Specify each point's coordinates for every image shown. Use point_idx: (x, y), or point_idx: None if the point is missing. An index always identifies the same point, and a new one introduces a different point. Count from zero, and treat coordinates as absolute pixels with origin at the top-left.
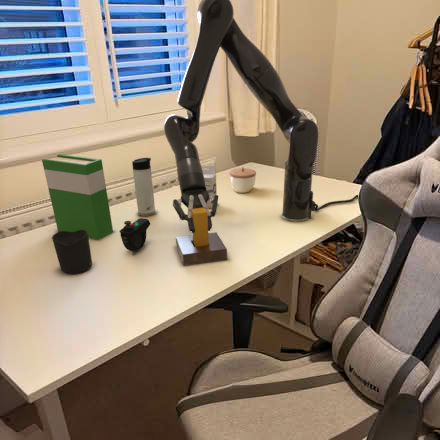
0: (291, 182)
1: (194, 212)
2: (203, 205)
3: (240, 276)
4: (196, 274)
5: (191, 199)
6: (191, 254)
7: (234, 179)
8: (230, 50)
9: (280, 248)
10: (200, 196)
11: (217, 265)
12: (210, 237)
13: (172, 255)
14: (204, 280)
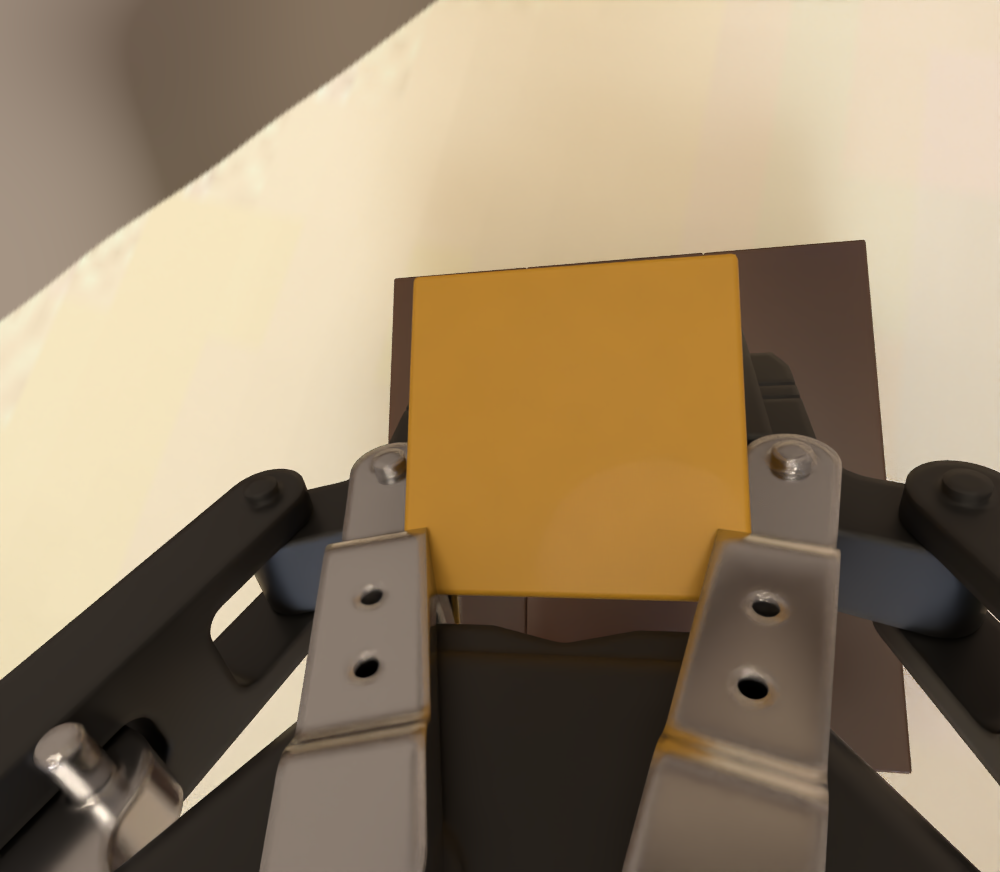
0: None
1: (701, 313)
2: (405, 575)
3: (414, 47)
4: (734, 117)
5: (733, 789)
6: (761, 250)
7: None
8: None
9: (6, 418)
10: (347, 835)
11: (530, 239)
12: (477, 601)
13: None
14: (686, 18)
